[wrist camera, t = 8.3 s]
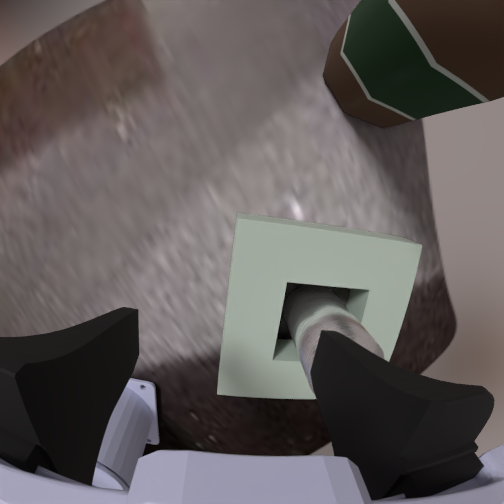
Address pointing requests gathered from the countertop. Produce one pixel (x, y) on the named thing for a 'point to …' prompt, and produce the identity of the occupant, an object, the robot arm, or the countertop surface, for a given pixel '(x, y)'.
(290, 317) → the steel peg
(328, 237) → the hole block
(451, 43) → the beer bottle
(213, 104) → the countertop surface
